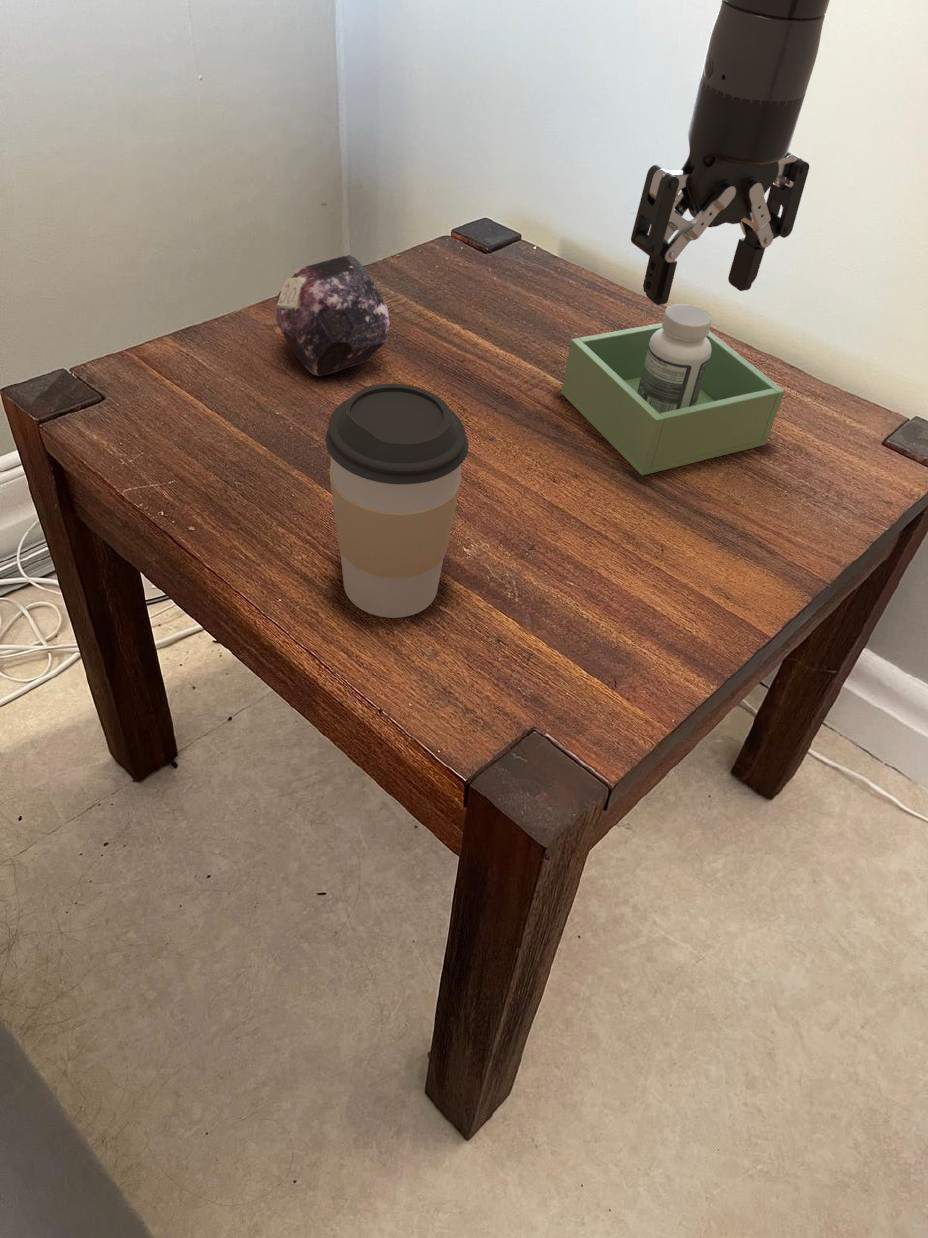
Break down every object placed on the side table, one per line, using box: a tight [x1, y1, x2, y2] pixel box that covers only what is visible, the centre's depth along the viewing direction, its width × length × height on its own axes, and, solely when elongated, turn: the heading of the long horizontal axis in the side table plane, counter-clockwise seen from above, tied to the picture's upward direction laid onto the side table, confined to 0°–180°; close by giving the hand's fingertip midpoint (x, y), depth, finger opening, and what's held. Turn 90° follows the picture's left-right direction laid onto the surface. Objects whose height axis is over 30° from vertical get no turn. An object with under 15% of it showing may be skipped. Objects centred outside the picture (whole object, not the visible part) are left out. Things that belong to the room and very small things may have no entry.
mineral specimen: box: [275, 254, 390, 377], centre depth 88 cm, size 10×10×10 cm
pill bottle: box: [638, 303, 713, 414], centre depth 85 cm, size 5×5×10 cm
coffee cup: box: [324, 383, 469, 619], centre depth 65 cm, size 9×9×15 cm
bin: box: [560, 322, 786, 476], centre depth 87 cm, size 14×14×6 cm
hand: (697, 293), depth 81 cm, fingers open, 8 cm apart
